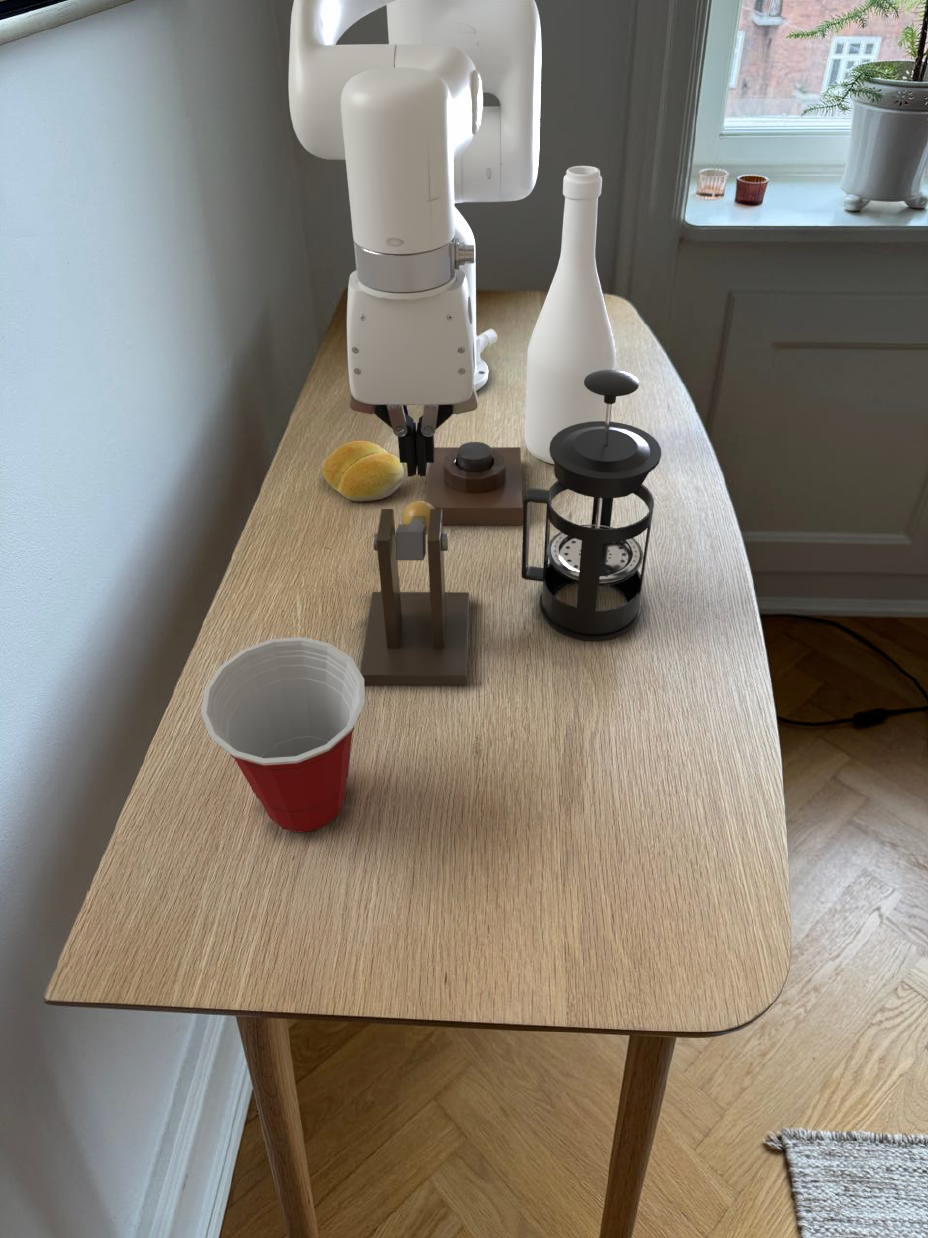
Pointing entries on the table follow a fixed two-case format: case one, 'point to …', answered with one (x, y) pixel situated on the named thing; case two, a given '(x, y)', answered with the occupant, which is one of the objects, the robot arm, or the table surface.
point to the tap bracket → (415, 618)
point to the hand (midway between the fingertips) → (417, 467)
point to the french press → (595, 519)
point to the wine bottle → (569, 326)
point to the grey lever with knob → (413, 532)
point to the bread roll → (363, 471)
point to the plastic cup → (288, 725)
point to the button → (474, 457)
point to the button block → (477, 489)
